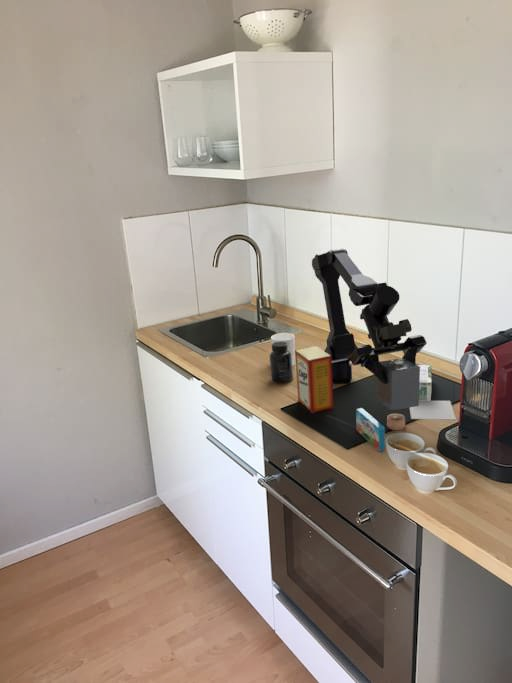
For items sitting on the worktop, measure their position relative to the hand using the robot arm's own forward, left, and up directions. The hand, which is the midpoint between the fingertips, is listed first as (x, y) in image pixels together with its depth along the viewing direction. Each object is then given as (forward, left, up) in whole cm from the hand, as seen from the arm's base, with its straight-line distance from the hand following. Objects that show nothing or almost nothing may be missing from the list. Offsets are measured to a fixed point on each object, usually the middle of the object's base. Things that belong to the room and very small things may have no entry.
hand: (400, 380), depth 140 cm
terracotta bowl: (-1, +1, -13) cm, 13 cm away
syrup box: (+7, +30, -11) cm, 33 cm away
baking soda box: (-23, +14, -14) cm, 30 cm away
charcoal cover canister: (-1, +1, -6) cm, 6 cm away
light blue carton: (-7, -5, -14) cm, 17 cm away
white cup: (-36, +45, -14) cm, 59 cm away
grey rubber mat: (+8, +10, -13) cm, 19 cm away
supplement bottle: (-35, +32, -14) cm, 49 cm away
